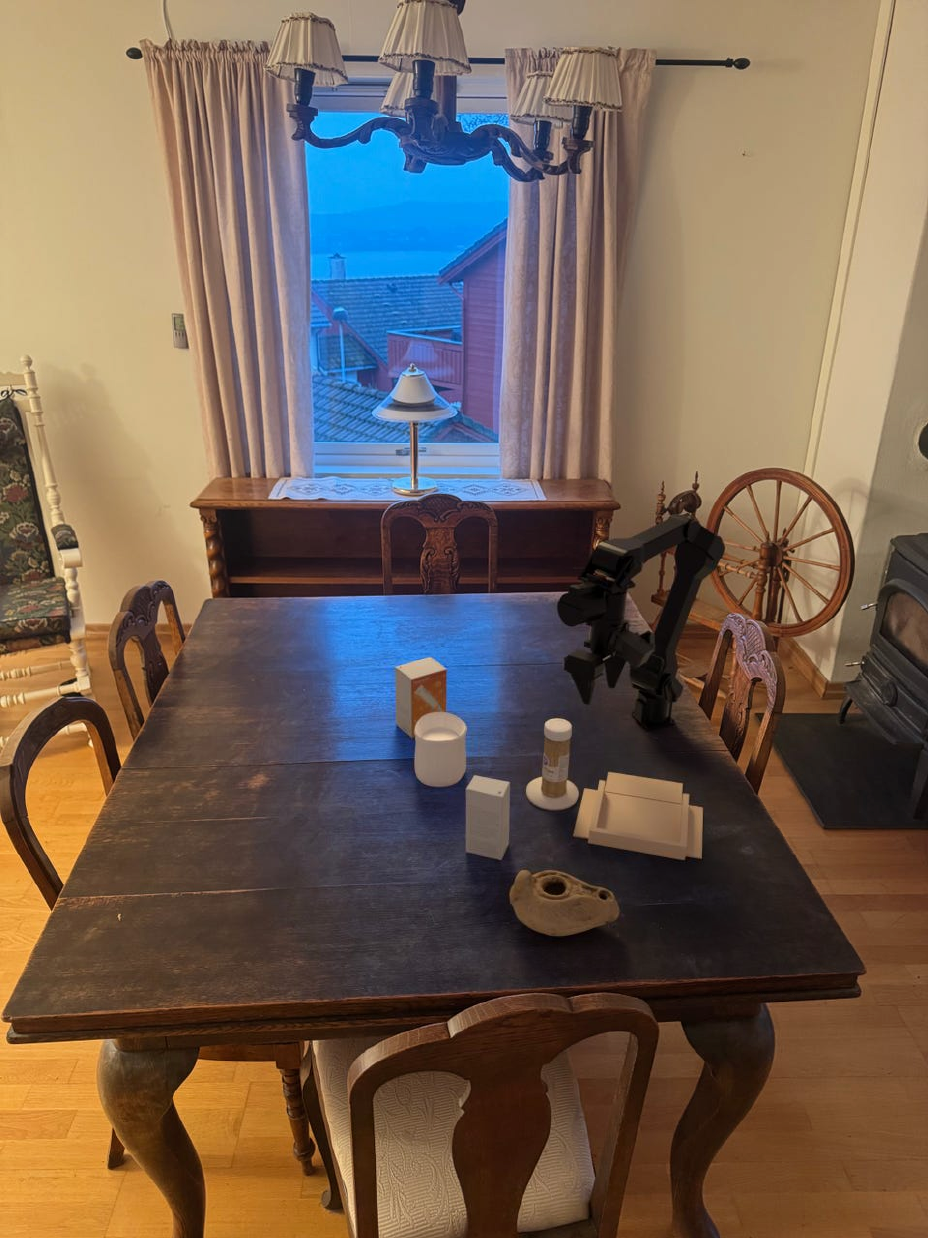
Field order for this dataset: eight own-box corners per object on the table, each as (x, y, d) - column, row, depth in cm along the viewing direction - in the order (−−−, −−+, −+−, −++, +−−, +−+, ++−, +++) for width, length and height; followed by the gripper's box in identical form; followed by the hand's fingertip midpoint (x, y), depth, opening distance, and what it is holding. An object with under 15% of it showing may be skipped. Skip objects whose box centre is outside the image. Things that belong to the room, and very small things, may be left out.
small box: (411, 739, 162) (410, 679, 156) (395, 724, 166) (393, 666, 161) (447, 727, 166) (447, 668, 160) (430, 713, 171) (430, 655, 165)
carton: (588, 770, 153) (589, 758, 152) (703, 788, 148) (704, 776, 147) (572, 840, 135) (573, 827, 134) (701, 863, 130) (703, 850, 129)
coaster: (563, 774, 151) (563, 771, 151) (587, 803, 144) (588, 800, 144) (517, 785, 148) (517, 782, 148) (540, 815, 141) (540, 812, 141)
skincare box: (509, 844, 134) (511, 781, 129) (501, 861, 131) (503, 797, 126) (473, 836, 136) (473, 773, 131) (464, 852, 132) (464, 789, 127)
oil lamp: (623, 949, 115) (628, 904, 111) (513, 952, 114) (514, 907, 111) (607, 892, 125) (612, 849, 121) (506, 894, 124) (507, 851, 121)
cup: (427, 795, 146) (426, 747, 142) (403, 765, 154) (402, 719, 150) (476, 780, 150) (476, 733, 146) (450, 752, 158) (450, 706, 154)
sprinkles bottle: (535, 789, 146) (539, 722, 141) (555, 780, 149) (559, 714, 143) (552, 802, 143) (557, 734, 137) (572, 793, 146) (578, 726, 140)
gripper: (624, 640, 136) (614, 727, 141) (673, 612, 150) (662, 692, 155) (564, 623, 142) (557, 707, 147) (617, 598, 156) (608, 675, 161)
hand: (599, 695), depth 153 cm, fingers open, 9 cm apart
